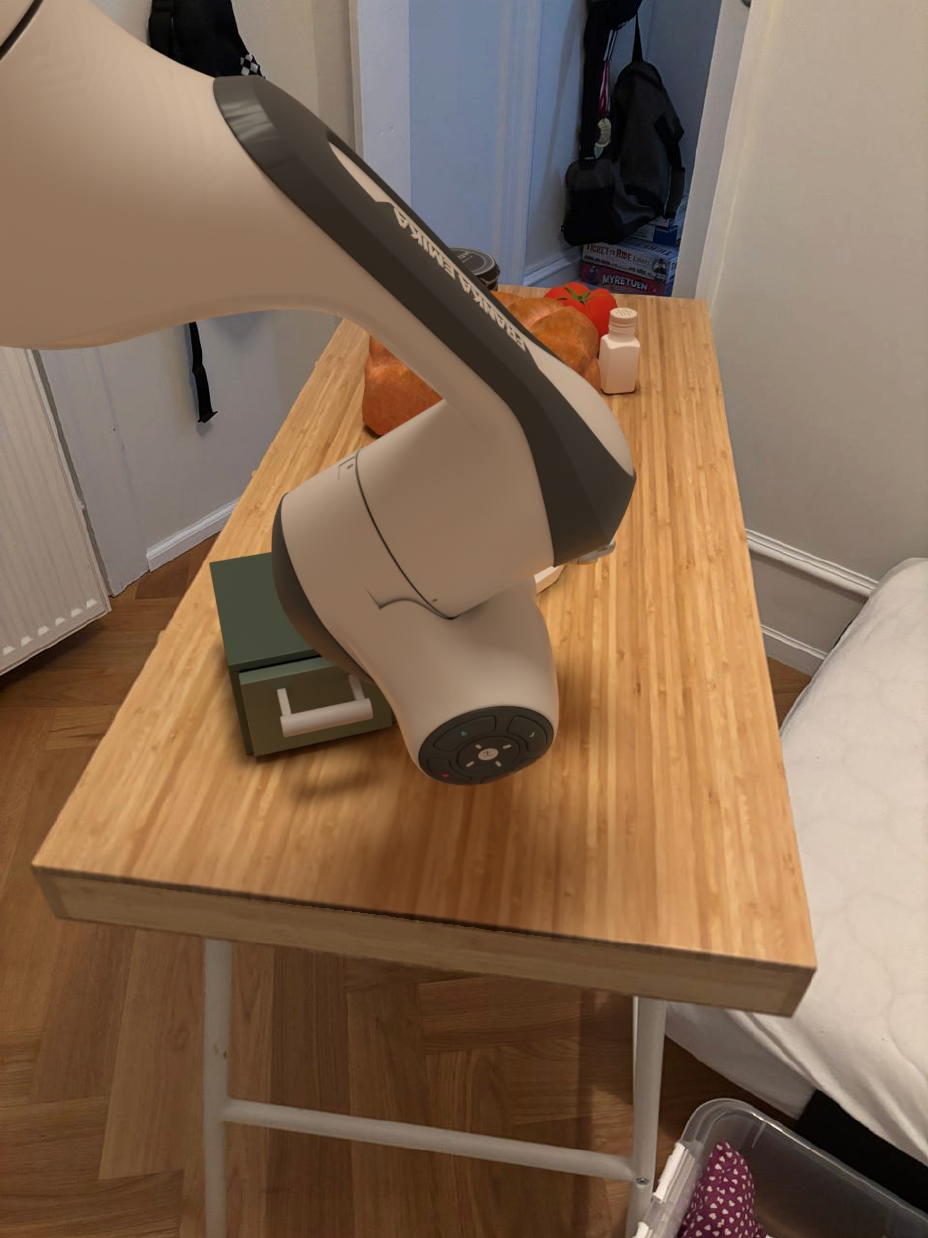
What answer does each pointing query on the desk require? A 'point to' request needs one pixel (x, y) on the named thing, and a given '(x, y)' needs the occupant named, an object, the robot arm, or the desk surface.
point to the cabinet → (253, 624)
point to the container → (479, 265)
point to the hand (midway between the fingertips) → (442, 457)
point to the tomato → (587, 304)
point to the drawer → (308, 704)
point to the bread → (405, 395)
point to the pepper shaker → (619, 352)
